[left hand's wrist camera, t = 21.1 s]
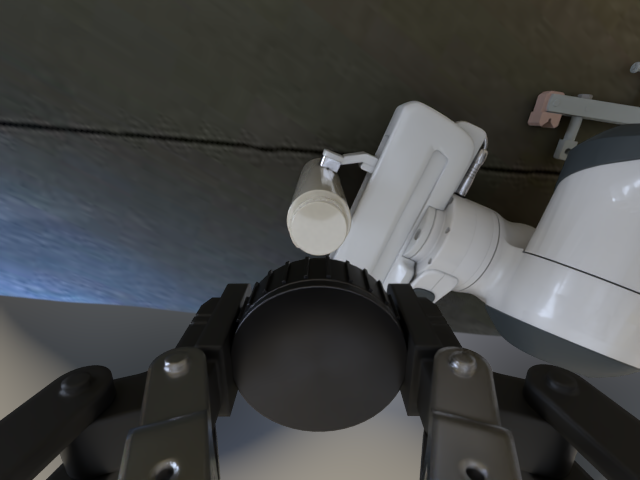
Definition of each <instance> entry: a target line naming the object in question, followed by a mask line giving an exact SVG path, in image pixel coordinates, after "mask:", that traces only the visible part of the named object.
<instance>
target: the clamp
mask: <svg viewBox="0 0 640 480" xmlns="http://www.w3.org/2000/svg"><path fill="white" fill-rule="evenodd" d="M637 71H640V62H636V63H634V64H633V65H632V66H631V68H630V72H631V73H636V72H637ZM592 97H593V96H592V95H590V94H579V95H578V97H572V96H566V95H564V93H562V92H556V91H546V92H543V93H541V94H540V95H538V98H537V101H536V104H535V107H534V110H533V112H531V114H530V117H529V120H528V124H529V125H530V126H541V127H544V128H555V127H557V126H558V124H559V121H560V119H561V116H562V115H563V116H569V117H571V120H570V123H569V125H568V128H567V131H566V133H565V136H564V139H563V140H561V139H559V142H558V145H557V147H556V150H555V153H554V156H553V158H556V159H560V160H566V158H567V155H568V153H569V151H570V150H571V149H572V148H574V147H575V146H577V143H578V142H575V138H576V135H577V133H578V130H579V127H580V125H581V122H582V120H583V119H588V120H595V121H601V122H607V123H614V124H620V125H624V124H633V123H640V107H634V106H628V105H622V104H616V103H609V102H603V101H597V100H592Z"/></svg>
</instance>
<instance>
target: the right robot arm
mask: <svg viewBox="0 0 640 480" xmlns="http://www.w3.org/2000/svg"><path fill="white" fill-rule="evenodd" d="M482 143H483V146H482V148H480V147H481V145H482ZM487 146H488V138H487V135H486V133H485V131H484V130H483V129H482V128H480V127H478V126H476V125H474V124H472V123H470V122H468V121H463V120H460V121H455V122H453V121H452V120H450V119H449V118H447V117H446V116H444V115H443V114H441V113H440V112H438V111H436V110H434V109H433V108H431V107H429V106H427V105H425V104H423V103H421V102H418V101H410V102H406V103H404V104H402V105H399V106H398V107H397V108H396V110H395V112H394V114H393V116H392V119H391V121H390V123H389V125H388V127H387V130H386V132H385V134H384V136H383V138H382V141H381V143H380V145H379V147H378V149H377V152H376V154H375V156H373V155H371V154H368V153H366V152H364V151H363V152H356V153H349V154H343V155H340V154H337V153H335V152H333V151H330V150H328V149H324V151H323V154H322V156H321V159H320V162H319V165H320V166H322V167H324V168H328V167H329V169H330V170H331V171H333V172H336V173H337V171H338V169H339V167H340V165H343V164H352V163H359V164H358V165H359V167H360V168H361V169H363V170H365V171H367V174H366V176H365V178H364V180H363V182H362V185H361V187H360V189H359V191H358V193H357V196H356V198H355V200H354V202H353V204H352V206H351V209H350V213H351V228H350V231H349V233H348V235H347V237H346V238H345V240H344V242H343V244H342V245H341V246H340V247H339V248H338V249H337V250H335V251H334V252H332V253H330V255H329V257H330V259H335V260H339V261H343V262H346V260H347V261H349V262H350V264H352V265H354V266H357V267H358V268H360V269H362V270H363V269H364V268H365V269H367V271H368V274H370V275H371V276H372V277H373V278H374V279H375V280H377V281H378V280H380V281H381V282H382V285H383V288H384V290H385V291H386V293H387V286H388V284H389V283H410V284H411V286H412V288H413V290H414V292H415V294H416V295H417V297H426V298H427V299H429V300H430V301H431V302H433V303H435V302H437V301H438V300H439V299H440V298H442V297H443V296H444V295H446V294H447V293H448V292H450V291H451V290H452V291H455V292H464V293H470V294H473V295H475V296H477V297H478V298H479V299H480V300H482V301H483V302H484V303H486V304H485V307H486V310H487V312H488V314H489V316H490V318H491V320H492V322H493V323H494V325H495V327H496V329H497V331H498V332H499V333H500V335H501V336H502V337H503V338H504V339H505V340H507V341H508V342H509V343H510V344H512V345H513V346H515V347H517V348H518V349H520V350H522V351H523V352H525V353H527V354H529V355H532V356H534V357H536V358H538V359H541V360H543V361H546V362H548V363H551V364H553V365H556V366H559V367H561V368H564V369H567V370H569V371H572V372H575V373H578V374H580V375H583V376H586V377H590V378H592V377H616V376H624V375H629V374H632V373H636V372H638V371H640V123H633V124H624V125H620V126H617V127H614V128H611V129H609V130H606V131H604V132H602V133H599V134H597V135H595V136H593V137H591V138H589V139H587V140H586V141H584V142H582V143H580V144H579V145H577V146H575V147H574V148H572V149H571V150H570V151H569V153H568V155H567V158H566V160H565V163H564V165H563V168H562V170H561V173H560V175H559V178H558V181H557V183H556V186H555V188H554V194H553V196H552V198H551V200H550V202H549V204H548V206H547V208H546V210H545V212H544V214H543V216H542V218H541V220H540V222H539V223H538V225H537V227H536V228H534V227H531V226H529V225H526V224H522V223H513V222H509V221H507V220H505V219H504V218H503V217H502V216H501V215H500V214H498V213H497V212H495V211H494V210H492V209H489V208H487V207H485V206H483V205H480V204H478V203H476V202H473V201H471V200H469V199H466V198H465V196H466V194H467V193H468V191H469V189H470V187H471V185H472V184H473V182H474V180H475V177H476V175H477V173H478V170H479V169H480V167H481V166H482V165H483V164H484V162H485V161H486V159H487V156H488V153H489V152H488V151H487ZM454 192H455V193H454Z"/></svg>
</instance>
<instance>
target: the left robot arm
mask: <svg viewBox="0 0 640 480" xmlns="http://www.w3.org/2000/svg"><path fill="white" fill-rule="evenodd" d="M251 293H252V291H251V285H250V284H228V285H227V287H226V288H225V290H224V292H223V294H222V296H221V298H211V299H210V300H208V301H207V302H206V303H204V304H203V305H201V307H200V309H199V310H198V312H197V314H196V317H194V318H193V320H192V322H191V324H190V325H189V327H188V328H187V330H186V331H185V333H184V335H183V336H182V338H181V340H180V341H179V343H178V344H177V346H176V348H175V349H171V350H169V351H167V352H164V353H163V354H161V355H160V356H158V357H157V358H156V359H155V360H153V362H152V363H151V364H150V366H149V368H148V371H147V372H144V373H141V374H137V375H132V376H128V377H123V378H118V379H114V380H113V377H112V373H111V371H110V370H109V369H108V368H106V367H104V366H98V365H93V366H86V367H81V368H78V369H75V370H73V371H70V372H68V373H66V374H64V375H62V376H60V377H59V378H57V379H56V380H54V381H53V382H52V383H50V384H49V385H48V386H46V387H45V388H44V389H42V390H41V391H40V392H38V393H37V394H36V395H34V396H33V397H31V398H30V399H29V400H27V401H26V402H25V403H23V404H22V405H21V406H19V407H18V408H17V409H15V410H14V411H13V412H11V413H10V414H9V415H7V416H6V417H5V418H3V419H2V420H0V480H33V479H34V478H35V477H36V476H37V475H38V474H39V473H40V472H41V471H42V470H43V469H44V468H45V467H46V466H47V465H48V464H49V463H50V462H51V461H52V460H53V459H54V458H56V457H57V456H58V455H59V454H60V456H61V458H62V461H63V463H62V464H61V465H60V466H59V468H57V469H56V470H55V471H54V472H53V473H52V474H51V475H50V476H49V477H48V478H47V479H46V480H220V469H219V456H218V443H217V433H216V426H215V423H216V420H217V417H218V416H230V414H231V411H232V408H233V404H234V401H235V398H236V394H237V391H238V388H237V386H236V384H235V382H234V379H233V372H232V363H231V353H230V348H231V344H232V340H233V337H234V335H235V332H236V329H237V327H238V324H239V323H237V322H236V321H237V319H238V316H239V314H240V311H241V309H242V306H243V304H244V301H245V299H246V297H250V295H251ZM389 294H391V296H392V299H393V301H394V304H395V306H396V309H397V311H398V314H399V316H400V320H399V322H400V324H401V327H402V330H403V332H404V337H405V340H406V343H407V350H408V351H407V361H406V371H405V379H404V382H403V384H402V386H401V389H400V391H401V394H402V398H403V401H404V404H405V408H406V411H407V415H408V416H420V418H421V421H422V424H423V427H424V433H423V443H422V456H421V469H420V480H594V479H593V478H592V477H591V476H590V475H589V474H588V473H587V472H586V471H585V470H584V469H583V468H582V467H581V466H580V465H579V464H578V463H577V462H576V461H575V460H574V459H575V456H576V454H577V451H578V452H579V453H580V454H581V455H582V456H583V457H584V458H585V459H587V460H588V461H589V462H590V463H591V464H592V465H593V466H594V467H595V468H596V469H597V470H598V471H599V472H600V473H601V474H602V475H603V476H604V477H605V478H606V479H607V480H640V420H638V419H637V418H635V417H634V416H633V415H631V414H630V413H629V412H627V411H626V410H625V409H623V408H622V407H621V406H619V405H618V404H617V403H615V402H614V401H613V400H611V399H610V398H608V397H607V396H606V395H604V394H603V393H602V392H600V391H599V390H598V389H596V388H595V387H594V386H592V385H591V384H590V383H588V382H587V381H586V380H584V379H583V378H581V377H580V376H578V375H576V374H575V373H573V372H571V371H569V370H566V369H564V368H561V367H557V366H553V365H546V364H540V365H535V366H532V367H531V368H529V370H528V372H527V375H526V379H521V378H517V377H512V376H508V375H503V374H499V373H495V372H492V368H491V366H490V364H489V363H488V362H487V360H486V359H484V358H483V357H482V356H481V355H479V354H477V353H476V352H473V351H471V350H468V349H465V348H462V346H461V345H460V343H459V341H458V340H457V338H456V336H455V335H454V333H453V331H452V330H451V328H450V326H449V325H448V324H447V322H446V320H445V318H444V317H443V316H442V313H441V312H440V310H439V308H438V307H437V305H436V304H434V303H433V302H431V301H430V300H429V299H427V298H426V297H417V295H416V294H415V292H414V290H413V288H412V286H411V284H410V283H389V284H388V286H387V295H389Z"/></svg>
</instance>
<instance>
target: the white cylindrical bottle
mask: <svg viewBox="0 0 640 480" xmlns="http://www.w3.org/2000/svg"><path fill="white" fill-rule="evenodd" d="M320 159H321V158H315V159H312V160H310V161H308V162H307V163H306V164H305V165H304V167H303V169H302V171H301V174H300V177H299V180H298V183H297V186H296V189H295V193H294V196H293V199H292V202H291V205H290V208H289V211H288V215H287V226H288V230H289V233H290V237H291V239H292V241H293V243H294V244H295V246H296V247H297V248H300V249H302V250H303V251H305V252H307V253H309V254H312V255H326V254H329V253H332V252H334V251H335V250H337V249H338V248H339V247H340V246H341V245H342V244H343V242H344V240H345V238H346V237H347V235H348V233H349V231H350V228H351V213H350V210H349V207H348V203H347V200H346V197H345V194H344V191H343V188H342V185H341V181H340V178H339V175H338V172H337V173H336V172H333V171H331V170H330V169H329V167H328V168H324V167H322V166H320V165H319V162H320Z"/></svg>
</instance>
